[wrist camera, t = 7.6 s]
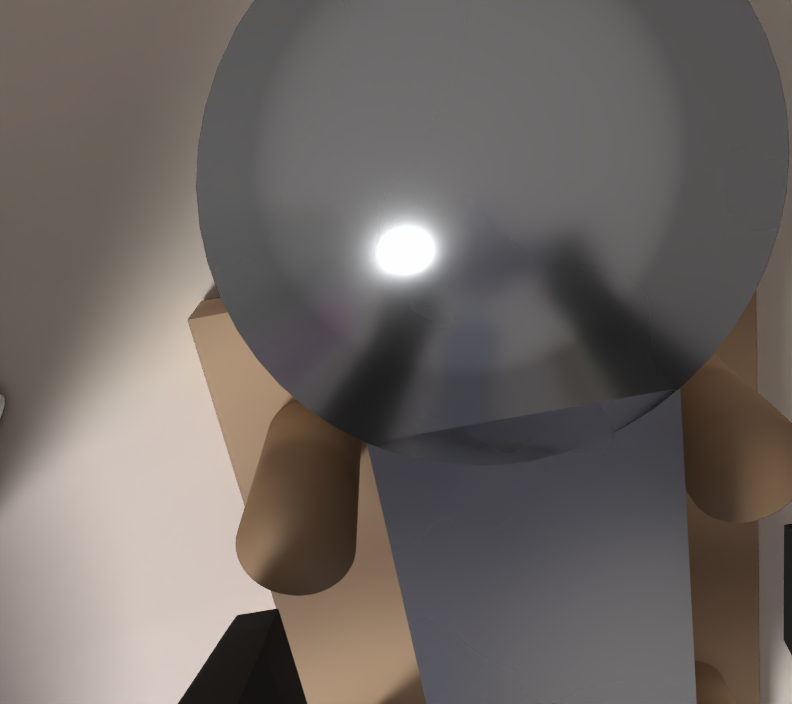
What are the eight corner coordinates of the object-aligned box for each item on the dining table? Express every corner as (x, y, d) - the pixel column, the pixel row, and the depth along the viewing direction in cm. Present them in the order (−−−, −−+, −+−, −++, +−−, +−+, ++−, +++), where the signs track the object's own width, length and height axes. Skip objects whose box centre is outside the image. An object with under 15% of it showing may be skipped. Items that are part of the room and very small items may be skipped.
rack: (739, 729, 17) (841, 921, 13) (346, 789, 17) (337, 990, 14) (727, 202, 12) (875, 264, 9) (201, 300, 13) (128, 400, 9)
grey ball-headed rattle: (669, 839, 17) (783, 1144, 12) (447, 872, 17) (473, 1183, 12) (599, -81, 10) (792, -204, 5) (235, -6, 10) (114, -58, 6)
